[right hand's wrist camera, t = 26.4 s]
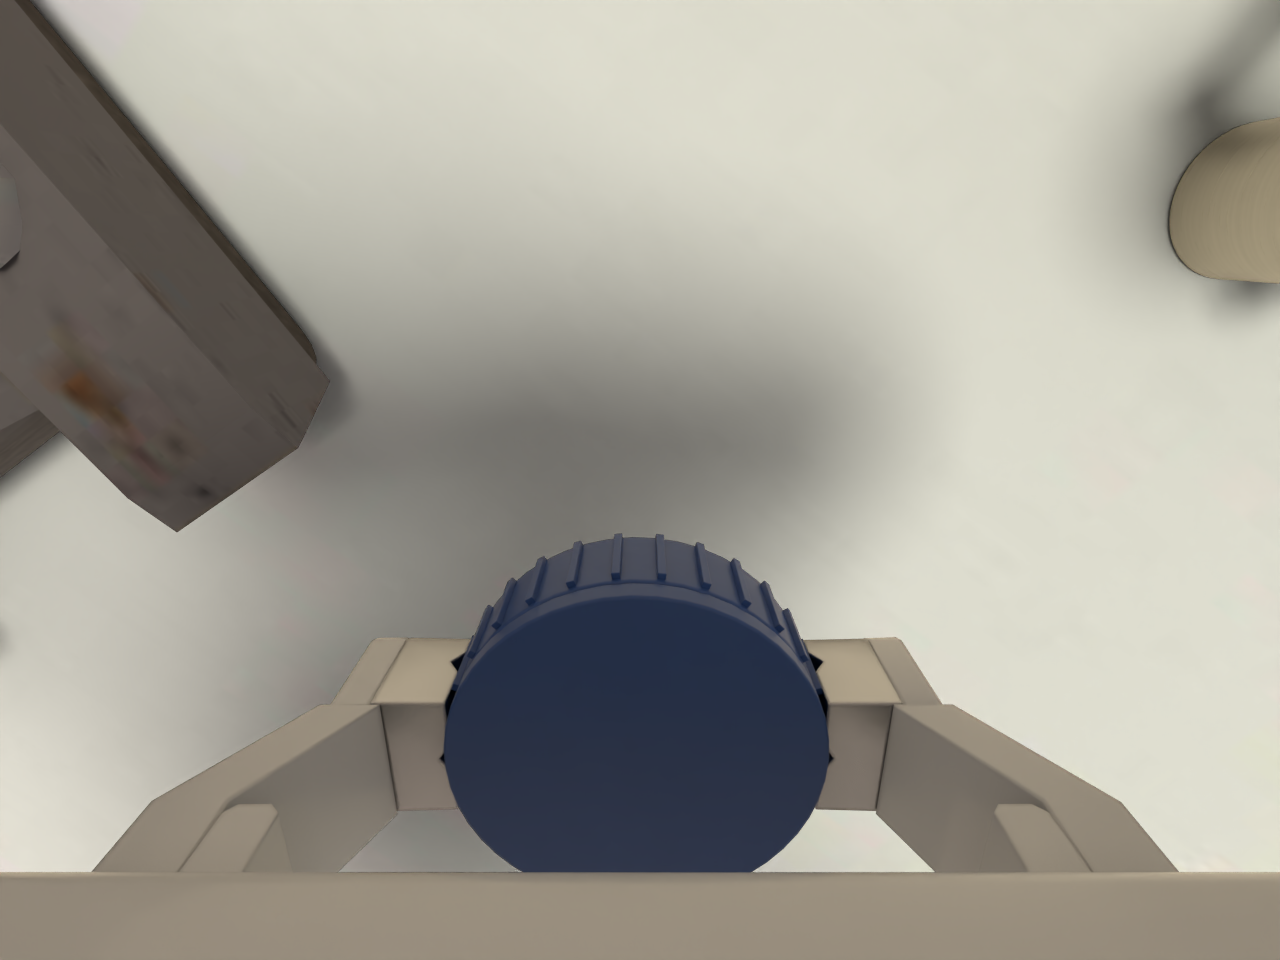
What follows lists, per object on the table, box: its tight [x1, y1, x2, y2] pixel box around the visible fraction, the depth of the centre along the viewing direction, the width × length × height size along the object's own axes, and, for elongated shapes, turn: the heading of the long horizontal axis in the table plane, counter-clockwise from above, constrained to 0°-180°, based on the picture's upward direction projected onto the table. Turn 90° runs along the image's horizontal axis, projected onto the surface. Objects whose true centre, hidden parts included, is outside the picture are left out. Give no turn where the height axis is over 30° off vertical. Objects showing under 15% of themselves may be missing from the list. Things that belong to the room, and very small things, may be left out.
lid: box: [444, 534, 829, 872], centre depth 10 cm, size 5×5×2 cm
